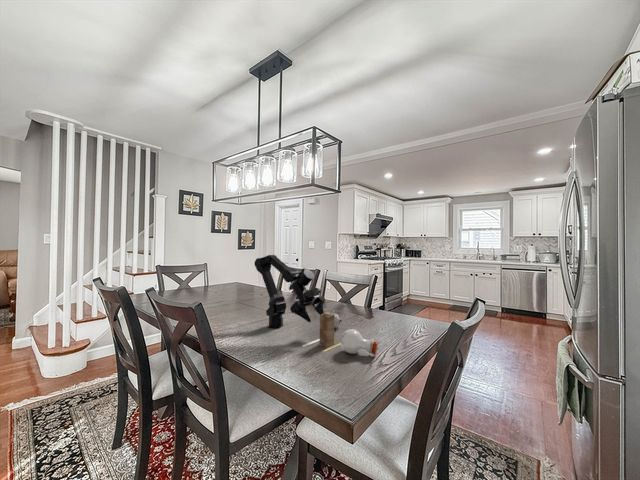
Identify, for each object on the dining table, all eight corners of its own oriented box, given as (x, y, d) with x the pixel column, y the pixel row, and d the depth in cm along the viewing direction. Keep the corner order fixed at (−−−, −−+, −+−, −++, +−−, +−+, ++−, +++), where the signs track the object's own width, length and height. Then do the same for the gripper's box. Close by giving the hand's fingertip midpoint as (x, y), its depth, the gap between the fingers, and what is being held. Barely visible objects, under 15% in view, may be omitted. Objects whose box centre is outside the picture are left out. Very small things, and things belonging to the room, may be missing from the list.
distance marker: (324, 351, 111) (324, 351, 111) (322, 351, 111) (322, 351, 111) (344, 342, 121) (344, 342, 121) (342, 342, 122) (342, 341, 122)
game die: (335, 334, 143) (346, 318, 145) (335, 333, 135) (346, 316, 137) (321, 324, 145) (332, 308, 148) (320, 323, 137) (331, 306, 140)
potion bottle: (339, 352, 114) (374, 363, 108) (334, 345, 106) (372, 357, 100) (345, 331, 118) (379, 340, 112) (341, 323, 111) (377, 332, 105)
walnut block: (319, 344, 119) (319, 313, 119) (326, 341, 122) (326, 311, 122) (327, 347, 116) (327, 315, 116) (334, 344, 119) (334, 313, 119)
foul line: (304, 346, 116) (304, 346, 116) (301, 345, 117) (301, 345, 117) (331, 336, 129) (331, 336, 129) (328, 335, 130) (328, 335, 130)
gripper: (295, 283, 119) (312, 313, 112) (323, 279, 133) (340, 306, 126) (283, 298, 125) (299, 328, 117) (311, 293, 139) (326, 319, 131)
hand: (317, 319), depth 123 cm, fingers open, 9 cm apart
